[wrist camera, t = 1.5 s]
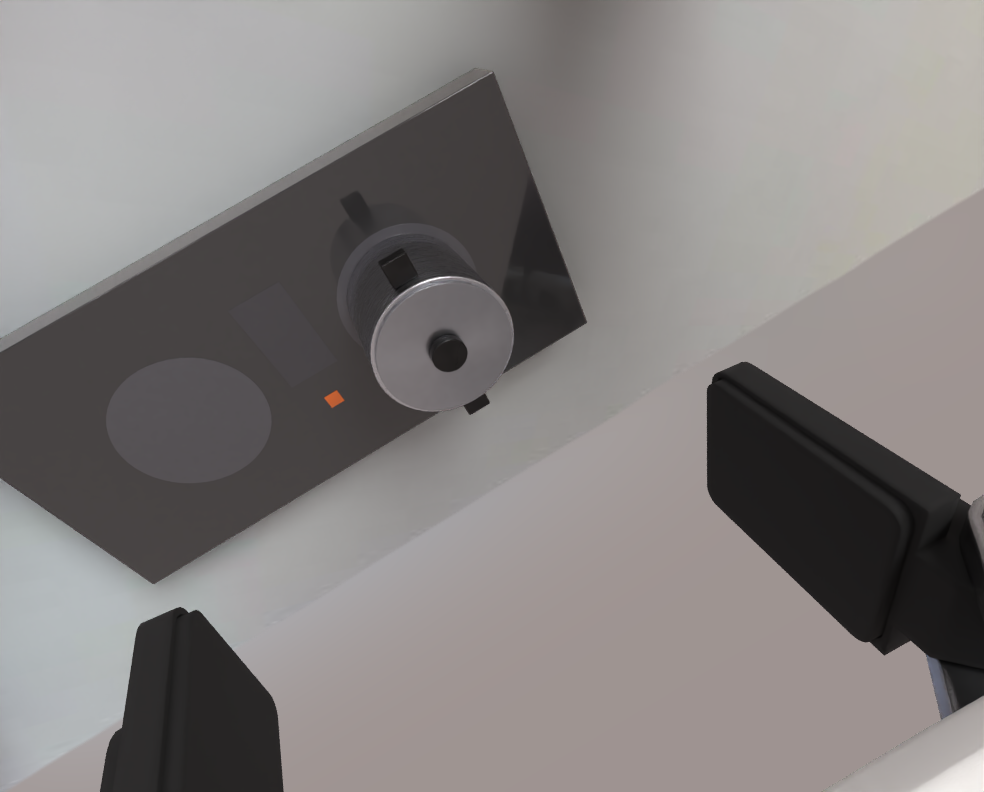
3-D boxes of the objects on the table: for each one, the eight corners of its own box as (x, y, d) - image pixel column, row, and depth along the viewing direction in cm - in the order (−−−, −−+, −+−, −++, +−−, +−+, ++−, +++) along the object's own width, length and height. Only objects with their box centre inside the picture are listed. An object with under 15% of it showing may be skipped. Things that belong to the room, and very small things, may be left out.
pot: (426, 187, 29) (474, 228, 23) (496, 328, 34) (549, 389, 28) (307, 256, 28) (326, 314, 23) (397, 387, 34) (430, 461, 28)
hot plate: (475, 67, 29) (493, 70, 27) (569, 307, 38) (588, 323, 36) (-77, 382, 28) (-101, 410, 26) (157, 554, 37) (153, 585, 35)
